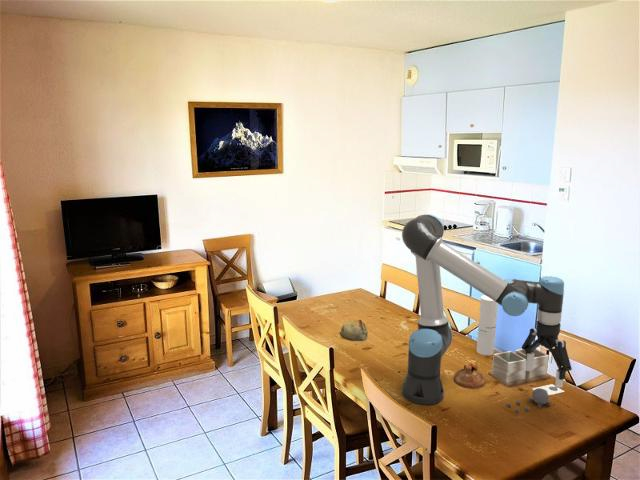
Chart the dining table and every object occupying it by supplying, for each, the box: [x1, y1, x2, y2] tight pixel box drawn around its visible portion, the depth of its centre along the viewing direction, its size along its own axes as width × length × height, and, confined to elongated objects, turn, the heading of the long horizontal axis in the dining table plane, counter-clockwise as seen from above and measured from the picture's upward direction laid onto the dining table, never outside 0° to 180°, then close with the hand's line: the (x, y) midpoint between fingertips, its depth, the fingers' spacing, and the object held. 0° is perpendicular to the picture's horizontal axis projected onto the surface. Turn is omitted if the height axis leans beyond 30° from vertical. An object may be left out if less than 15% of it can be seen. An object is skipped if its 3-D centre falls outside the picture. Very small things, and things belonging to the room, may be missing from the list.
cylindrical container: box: [476, 294, 499, 356], centre depth 219 cm, size 7×7×25 cm
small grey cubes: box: [505, 397, 552, 415], centre depth 178 cm, size 15×5×1 cm, turn 111°
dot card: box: [531, 383, 565, 396], centre depth 189 cm, size 10×6×1 cm, turn 111°
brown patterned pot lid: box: [453, 362, 486, 389], centre depth 195 cm, size 12×12×7 cm
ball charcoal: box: [531, 388, 550, 405], centre depth 180 cm, size 6×6×6 cm
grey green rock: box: [340, 319, 369, 342], centre depth 238 cm, size 14×12×8 cm
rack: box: [488, 348, 551, 388], centre depth 199 cm, size 21×11×9 cm, turn 111°
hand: (543, 378), depth 178 cm, fingers open, 13 cm apart
